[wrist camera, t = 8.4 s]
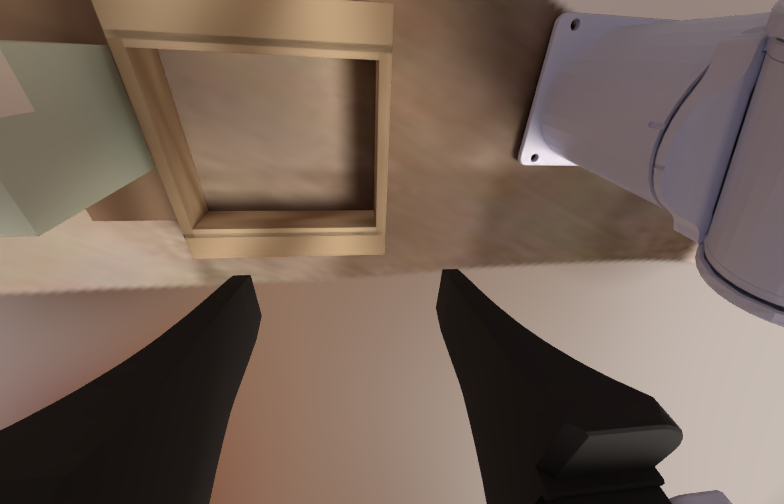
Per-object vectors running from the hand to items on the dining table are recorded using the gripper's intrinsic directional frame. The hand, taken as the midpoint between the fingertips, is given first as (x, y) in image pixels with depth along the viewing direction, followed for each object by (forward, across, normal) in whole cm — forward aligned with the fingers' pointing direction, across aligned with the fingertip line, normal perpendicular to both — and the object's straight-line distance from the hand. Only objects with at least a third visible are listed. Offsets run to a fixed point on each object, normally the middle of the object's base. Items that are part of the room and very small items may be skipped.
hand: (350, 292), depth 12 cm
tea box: (+10, +14, -4) cm, 17 cm away
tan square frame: (+10, +4, -3) cm, 12 cm away
